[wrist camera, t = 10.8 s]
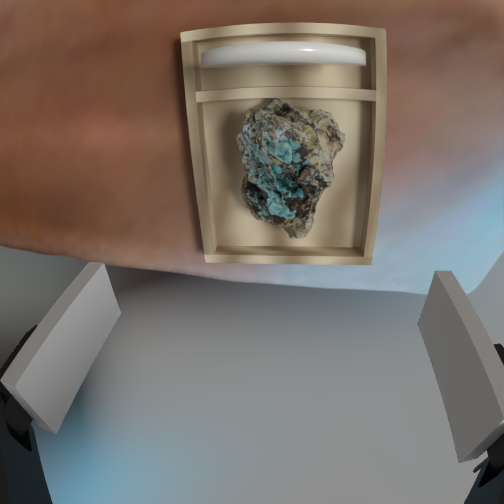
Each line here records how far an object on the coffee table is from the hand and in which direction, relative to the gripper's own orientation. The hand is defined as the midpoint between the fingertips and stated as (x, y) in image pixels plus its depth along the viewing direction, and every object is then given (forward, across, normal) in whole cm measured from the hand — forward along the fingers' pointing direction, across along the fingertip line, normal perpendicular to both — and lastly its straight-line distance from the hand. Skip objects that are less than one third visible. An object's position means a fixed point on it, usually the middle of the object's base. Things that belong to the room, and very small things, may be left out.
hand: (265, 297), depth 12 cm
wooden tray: (+22, +1, +1) cm, 22 cm away
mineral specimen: (+22, +1, -1) cm, 22 cm away
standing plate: (+22, +1, +9) cm, 24 cm away
